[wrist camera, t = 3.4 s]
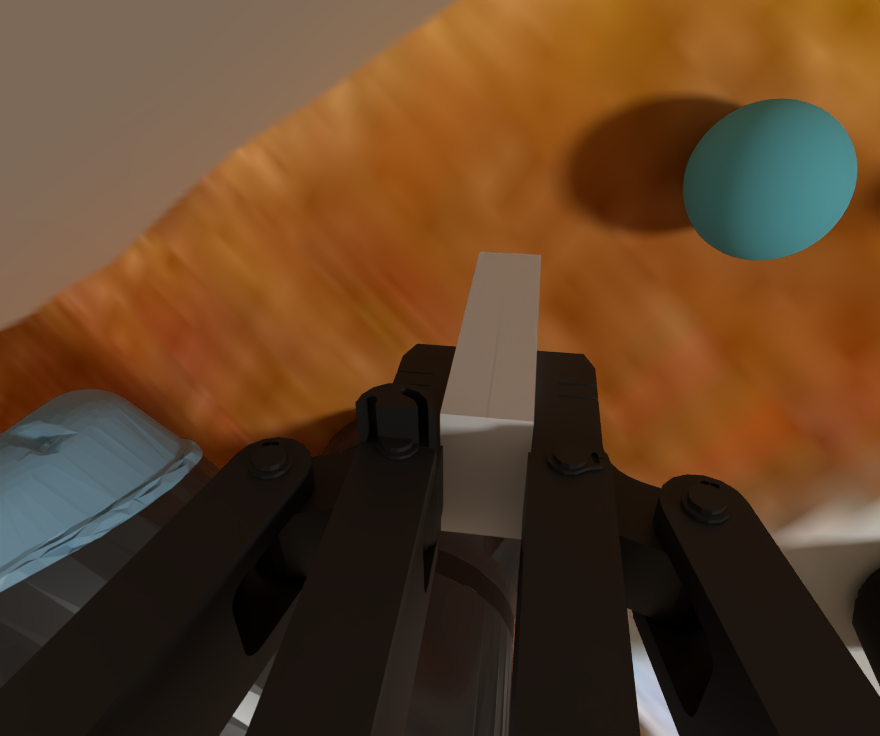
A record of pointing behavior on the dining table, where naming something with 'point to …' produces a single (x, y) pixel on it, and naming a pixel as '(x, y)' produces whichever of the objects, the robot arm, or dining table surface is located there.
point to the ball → (770, 179)
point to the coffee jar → (869, 620)
